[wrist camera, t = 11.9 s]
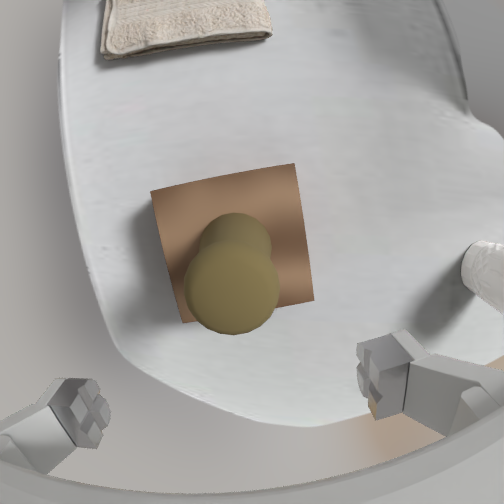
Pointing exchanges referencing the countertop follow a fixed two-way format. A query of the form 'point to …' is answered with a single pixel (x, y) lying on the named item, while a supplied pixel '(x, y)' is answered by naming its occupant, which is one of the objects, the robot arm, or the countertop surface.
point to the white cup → (485, 272)
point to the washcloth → (179, 25)
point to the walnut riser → (238, 201)
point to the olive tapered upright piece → (232, 276)
